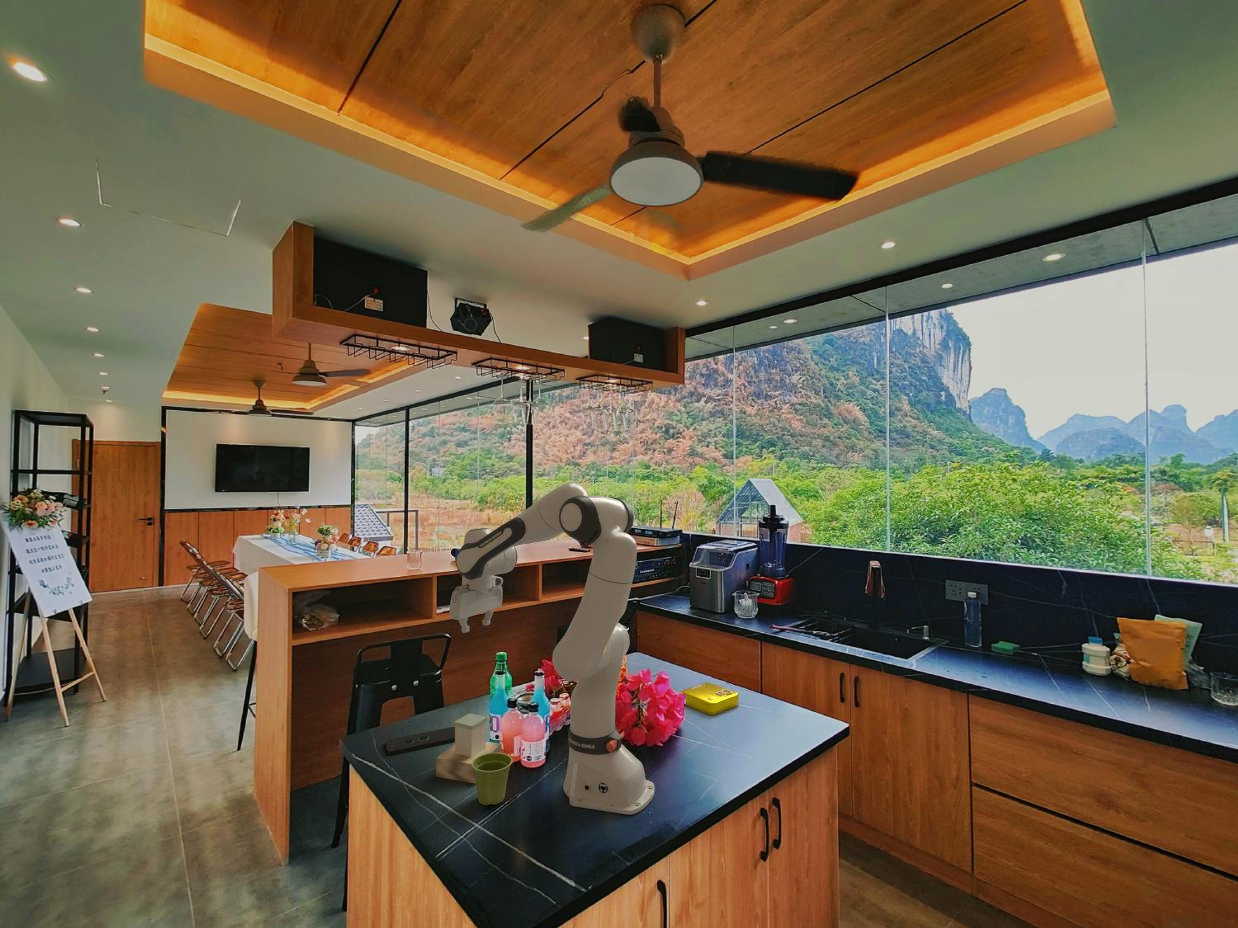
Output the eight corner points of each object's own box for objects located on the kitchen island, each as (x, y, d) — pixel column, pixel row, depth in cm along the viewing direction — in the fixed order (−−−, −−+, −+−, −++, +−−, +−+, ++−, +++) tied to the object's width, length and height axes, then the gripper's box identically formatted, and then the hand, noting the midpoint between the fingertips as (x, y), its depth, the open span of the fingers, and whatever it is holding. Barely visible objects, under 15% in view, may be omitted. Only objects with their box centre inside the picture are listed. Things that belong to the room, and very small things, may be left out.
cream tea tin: (487, 747, 147) (487, 717, 148) (471, 757, 142) (472, 726, 142) (469, 743, 150) (469, 713, 150) (453, 752, 145) (454, 721, 145)
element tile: (707, 693, 201) (707, 679, 201) (741, 705, 190) (741, 691, 190) (678, 703, 191) (678, 689, 192) (712, 717, 180) (712, 702, 180)
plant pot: (491, 784, 138) (491, 748, 138) (519, 795, 133) (520, 758, 134) (462, 802, 130) (463, 764, 130) (492, 814, 125) (492, 775, 126)
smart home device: (384, 739, 160) (455, 725, 169) (384, 745, 159) (455, 731, 169) (388, 751, 152) (461, 736, 162) (388, 757, 152) (461, 742, 162)
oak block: (501, 762, 150) (501, 743, 150) (477, 785, 138) (477, 764, 138) (462, 756, 153) (462, 737, 153) (435, 777, 142) (436, 757, 142)
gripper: (461, 588, 156) (460, 638, 156) (506, 578, 175) (505, 622, 174) (444, 586, 159) (443, 635, 158) (490, 576, 177) (489, 620, 177)
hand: (476, 628), depth 166 cm, fingers open, 8 cm apart
